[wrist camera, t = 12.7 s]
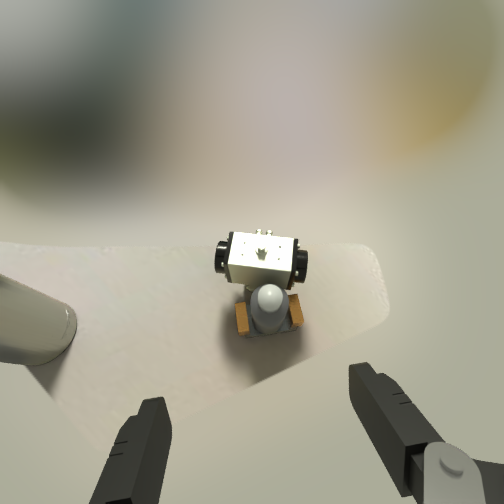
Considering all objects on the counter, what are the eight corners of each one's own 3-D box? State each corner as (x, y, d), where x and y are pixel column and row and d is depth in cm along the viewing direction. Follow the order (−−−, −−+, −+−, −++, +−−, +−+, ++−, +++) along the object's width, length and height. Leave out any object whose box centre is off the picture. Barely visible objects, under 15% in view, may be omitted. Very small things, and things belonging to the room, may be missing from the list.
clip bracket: (240, 339, 38) (238, 334, 35) (236, 308, 40) (234, 301, 37) (301, 329, 39) (304, 323, 35) (293, 299, 41) (296, 291, 38)
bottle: (254, 336, 37) (253, 319, 28) (249, 305, 39) (247, 280, 31) (286, 331, 37) (294, 313, 29) (279, 300, 40) (286, 274, 31)
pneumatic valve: (296, 301, 40) (310, 270, 30) (221, 292, 41) (209, 258, 31) (298, 269, 43) (311, 229, 32) (228, 261, 44) (218, 219, 33)
